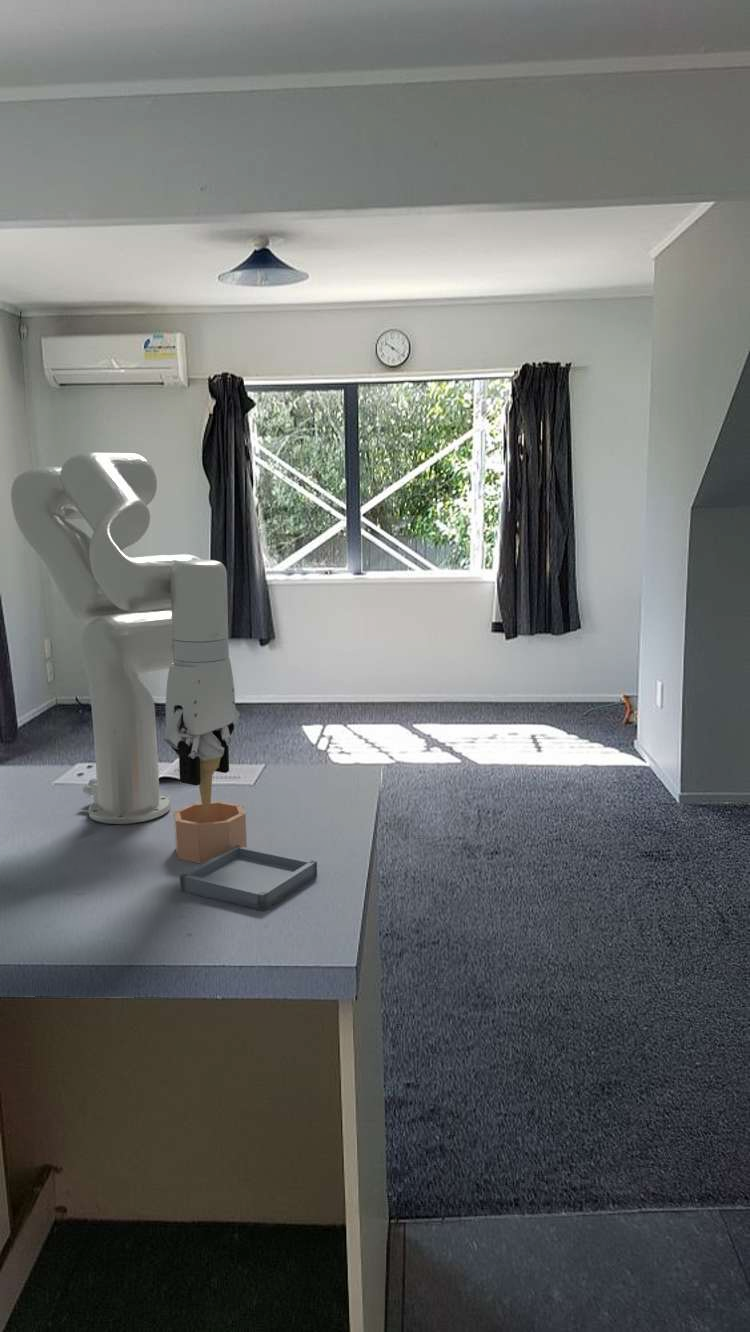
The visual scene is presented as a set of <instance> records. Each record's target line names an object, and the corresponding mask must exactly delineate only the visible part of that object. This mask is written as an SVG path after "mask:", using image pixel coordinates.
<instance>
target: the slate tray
mask: <svg viewBox="0 0 750 1332" xmlns="http://www.w3.org/2000/svg"><path fill="white" fill-rule="evenodd" d="M317 877H318V862H317V861H315V860H310V859H306V858H301V857H297V856H291V855H287V854H282V853H277V852H272V851H267V850H263V849H257V848H252V847H248V846H247V847H244V846H239V845H237V846H235V847H233V848H231V849H229V850H227V851H225V852H224V853H222V854H220V855H218V856H216V857H214V858H212V859H210V860H208V861H207V862H205V863H202V864H201V863H200V864H199V865H197V866H195V867H194V868H191V869H189V870H188V871H186V872H183V873H182V874H180V875H179V884H180V885H179V887H180V888H179V889H180V891H181V892H184V893H190V894H193V895H197V896H201V897H204V898H210V899H213V900H217V901H221V902H226V903H230V904H234V905H237V906H241V907H242V906H243V907H246V908H250V909H253V910H254V909H255V910H259V911H261V912H264V911H266V910H267V909H269V908H271V907H272V906H274V905H275V904H276V903H278V902H280V901H282V900H283V899H284V898H286V897H287V896H289V895H291V894H292V893H293V892H296V891H297V890H298V889H299V888H301V887H302V886H304V885H305V884H307V883H309V882H310V881H312V880H313V879H315V878H317Z"/></svg>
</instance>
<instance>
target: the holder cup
mask: <svg viewBox="0 0 750 1332" xmlns="http://www.w3.org/2000/svg"><path fill="white" fill-rule="evenodd" d="M246 817H247V816H246V812H245V809H244V808H243V805H242V804H239V803H232V802H227V801H221V800H217V801H211V802H210V816H209V819H208V820H205V818H204V814H203V807H202V802H196V803H195V802H194V803H191V804H187V805H186V806H183V807H181V808H180V809H177V810H174V811H173V819H174V820H173V822H174V823H173V824H174V837H175V838H174V839H175V841H174V842H175V851H176V855H177V856H176V857H177V859H178V860H181V861H185V862H186V861H187V862H190V863H195V864H199V865H201V864H203V863H205V862H207V861H208V860H210V859H212V858H214V857H216V856H218V855H220V854H222V853H224V852H225V851H227V850H229V849H231V848H233V847H235V846H237V845H239V846H244V847H248V846H247V845H248V843H247V821H246Z"/></svg>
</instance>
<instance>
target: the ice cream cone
mask: <svg viewBox="0 0 750 1332" xmlns="http://www.w3.org/2000/svg"><path fill="white" fill-rule="evenodd" d="M190 740H191V739H190V738H189V741H188V742H187V743H186V744H187V745H188V746H190ZM223 754H224V747H222V746H221V743H220V741H219V740H218V739H217V737H216V736H215V735H214V734H213V733H212V732H210V733H207V734H204V735H201V736H200V738H199V744H198V749H197V754H196V756H197V757H200V778H201V782H200V784H199V785H198V787H199V788H198V789H199V793H200V799H201V800H200V801H201V803H202V807H203V814H204V818H205V820H208V819H209V816H210V802H212V801H211V800H212V798H211V797H212V787H213V786H212V783H213V775H214V773H215V772H216V771H215V770H216V769H217V768H219V763H220V760H221V757H222V756H223Z"/></svg>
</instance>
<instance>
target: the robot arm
mask: <svg viewBox="0 0 750 1332" xmlns="http://www.w3.org/2000/svg"><path fill="white" fill-rule="evenodd" d="M157 486H158V483H157V475H156V472H155V470H154V468H153V466H152V464H151V463H150V462H149V461H148V460H147V459H146V458H145V457H143V456H142V455H140V454H138V453H134V452H106V451H105V452H104V451H103V452H100V451H99V452H98V451H89V452H81V453H78V454H74V455H72V456H71V457H70V458H69V459H67V460H66V461H65V462H64V463H63V465H62V466H43V467H36V468H31V469H28V470H25V471H23V472H22V473H20V474H19V475H17V476H16V478H14V480H13V483H12V485H11V492H10V500H11V502H10V503H11V507H12V512H13V515H14V518H15V519H14V520H15V522H16V523H17V526H18V528H19V530H20V532H21V534H22V536H23V537H24V538H25V540H26V542H27V543H28V544H29V546H31V548H32V549H33V551H34V552H35V553H36V554H37V556H39V557H40V558H41V560H42V561H43V563H44V564H45V566H46V567H47V570H48V571H49V573H50V576H51V577H52V579H53V581H54V584H55V585H56V587H57V589H58V591H59V593H60V595H61V596H62V598H63V601H64V602H65V604H66V606H67V608H68V609H69V611H70V613H71V614H72V616H73V617H74V618H75V619H77V620H78V621H79V622H82V623H85V624H86V626H85V627H84V628H83V630H82V632H81V634H80V640H79V641H80V642H79V643H80V644H79V645H80V652H81V657H82V660H83V664H84V667H85V671H86V677H87V681H88V688H89V695H90V704H91V714H92V715H91V716H92V718H91V719H92V728H93V729H92V730H93V742H94V743H93V744H94V758H95V760H94V761H95V769H96V771H95V773H96V774H95V775H96V778H91V779H89V781H88V784H87V785H85V786H84V787H83V789H82V792H83V793H84V795H89V796H90V795H92V796H93V802H92V804H91V805H89V806H88V817H89V818H90V819H91V820H94V821H95V822H98V823H102V824H108V825H126V824H138V823H142V822H148V821H150V820H155V819H157V818H159V817H161V816H163V815H165V814H167V813H168V812H169V811H170V809H171V801H170V799H169V798H168V797H166V796H165V795H162V794H160V793H161V792H160V779H159V760H158V759H159V758H158V757H159V756H158V743H157V725H156V723H157V722H156V707H155V702H154V698H153V696H152V694H151V692H150V691H149V689H148V688H147V686H145V684H144V683H143V682H142V681H141V679H140V677H139V675H142V674H146V673H150V672H157V671H163V670H168V675H167V681H166V682H167V683H166V692H165V695H166V696H165V726H166V727H165V728H166V730H165V733H164V735H163V741H165V742H166V744H167V745H169V746H170V747H171V749H172V750H173V751H174V752H175V755H176V756H178V762H179V763H178V764H179V765H178V766H179V768H178V769H179V781H180V782H181V783H183V784H186V785H187V784H188V785H190V786H191V785H193V786H199V784H200V782H201V778H200V757H197V756H196V754H197V749H198V744H199V738H200V736H201V735H204V734H207V733H210V732H212V733H213V734H214V735H215V736H216V737H217V739H218V740H219V741H220V743H221V746H222V747H224V754H223V756H222V757H221V760H220V763H219V768H217V769H216V770H215V772H218V773H221V774H222V773H223V774H226V773H229V772H230V757H229V756H230V755H229V745H230V744H231V742H232V737H231V736H232V734H233V732H234V730H235V726H236V724H237V722H238V720H239V718H240V715H241V714H240V712H239V710H238V709H237V708H236V699H235V698H236V697H235V684H234V675H233V669H232V664H231V663H232V662H231V660H230V659H231V658H230V652H229V651H230V649H229V645H230V644H229V618H228V617H229V616H228V615H229V612H228V610H229V609H228V607H229V605H228V573H227V569H226V566H225V564H224V563H222V562H221V561H218V560H215V559H201V558H200V557H198V556H197V555H194V554H188V553H180V554H160V555H159V554H157V555H156V554H155V555H142V556H130V557H129V556H127V555H126V554H125V553H123V551H125V550H126V549H128V548H129V547H131V546H132V545H134V544H136V543H137V542H138V541H140V540H141V538H142V537H143V536H144V535H145V534H146V532H147V530H148V529H149V525H150V522H151V513H150V510H149V507H148V506H147V505H149V504H150V503H151V502H152V501H153V499H154V498H155V496H156V493H157V489H158V488H157ZM77 519H78V520H80V519H81V520H83V519H84V520H85V521H86V523H87V524H88V525H89V527H90V528H91V529H92V531H93V532H92V535H91V537H90V536H89V535H88V534H86V532H84V531H83V530H82V529H81V528H78V527H77V526H75V525H73V524H72V523H70V522H69V521H67V520H77ZM187 739H189V741H190V746H188V745H187V744H188V743H187ZM190 739H191V740H190Z"/></svg>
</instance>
